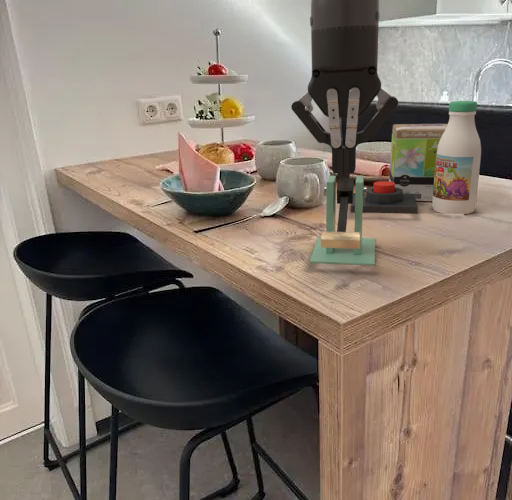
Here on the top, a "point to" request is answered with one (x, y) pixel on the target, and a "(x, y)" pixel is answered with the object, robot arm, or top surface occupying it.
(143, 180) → the top surface
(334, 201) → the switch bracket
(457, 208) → the milk bottle
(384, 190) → the red button
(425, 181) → the tea box
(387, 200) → the button box
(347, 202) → the switch lever
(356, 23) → the robot arm
